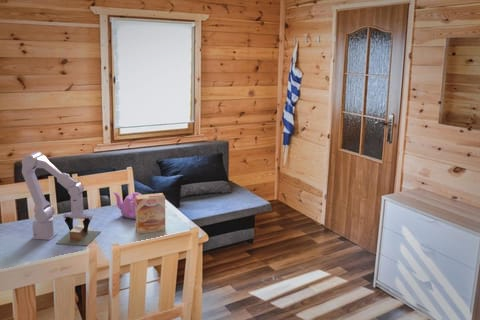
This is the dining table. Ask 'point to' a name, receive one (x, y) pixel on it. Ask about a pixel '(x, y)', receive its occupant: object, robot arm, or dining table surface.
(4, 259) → the dining table surface
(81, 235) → the card box
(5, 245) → the dining table surface
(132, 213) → the teapot
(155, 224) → the coffeecake box
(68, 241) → the mat
